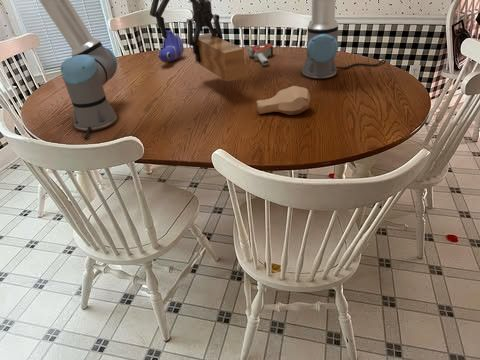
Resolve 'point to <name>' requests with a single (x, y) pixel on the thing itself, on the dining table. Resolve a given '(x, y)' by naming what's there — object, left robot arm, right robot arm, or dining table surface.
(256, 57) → the tape dispenser
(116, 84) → the dining table surface
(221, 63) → the box
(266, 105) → the squash
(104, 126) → the left robot arm
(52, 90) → the dining table surface
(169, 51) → the toy
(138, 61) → the dining table surface
